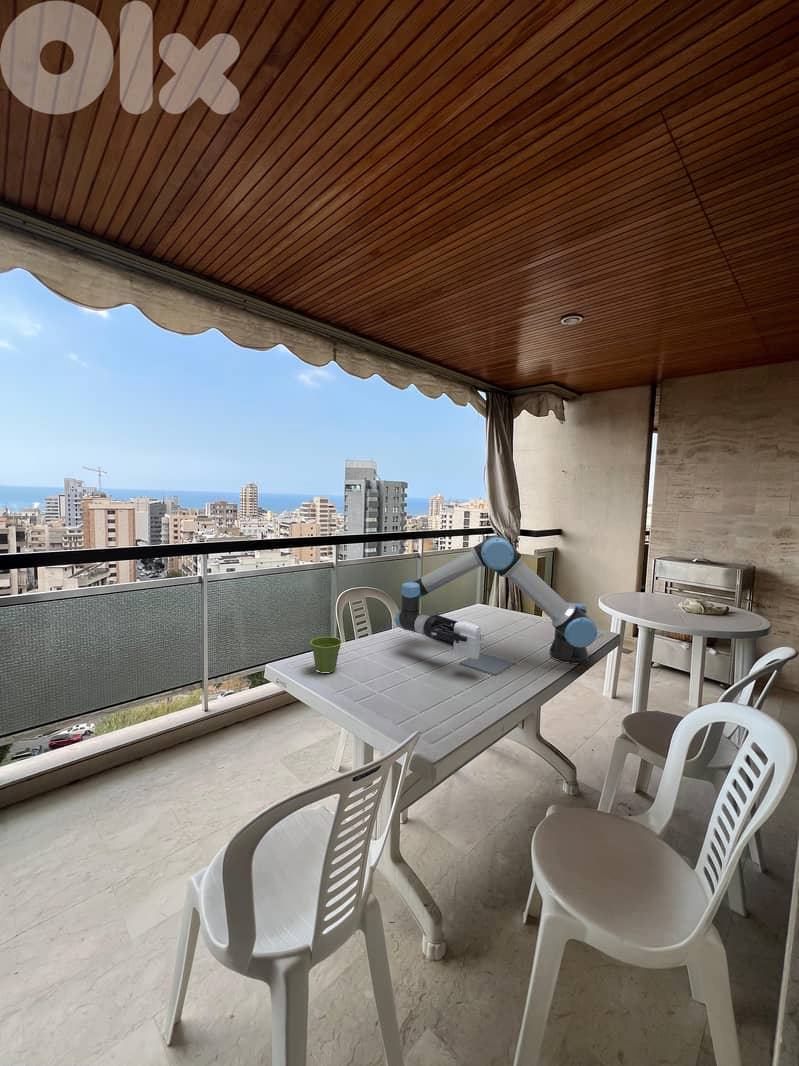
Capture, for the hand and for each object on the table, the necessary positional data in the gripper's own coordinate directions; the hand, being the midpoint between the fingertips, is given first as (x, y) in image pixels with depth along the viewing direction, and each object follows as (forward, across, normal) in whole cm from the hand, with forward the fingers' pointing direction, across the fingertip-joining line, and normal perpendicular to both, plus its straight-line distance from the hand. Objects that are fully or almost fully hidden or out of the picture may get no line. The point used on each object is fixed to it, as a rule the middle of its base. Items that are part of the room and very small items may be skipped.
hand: (479, 639), depth 157 cm
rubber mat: (-5, -15, -15) cm, 22 cm away
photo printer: (-5, 0, -7) cm, 9 cm away
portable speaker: (-32, -27, -15) cm, 45 cm away
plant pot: (-45, +34, -15) cm, 58 cm away
